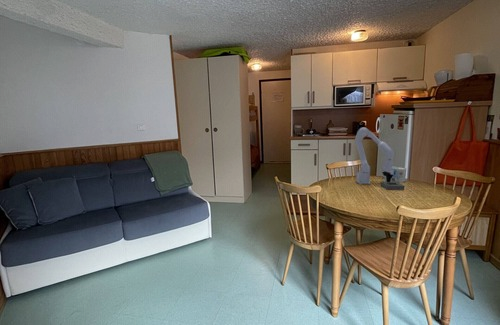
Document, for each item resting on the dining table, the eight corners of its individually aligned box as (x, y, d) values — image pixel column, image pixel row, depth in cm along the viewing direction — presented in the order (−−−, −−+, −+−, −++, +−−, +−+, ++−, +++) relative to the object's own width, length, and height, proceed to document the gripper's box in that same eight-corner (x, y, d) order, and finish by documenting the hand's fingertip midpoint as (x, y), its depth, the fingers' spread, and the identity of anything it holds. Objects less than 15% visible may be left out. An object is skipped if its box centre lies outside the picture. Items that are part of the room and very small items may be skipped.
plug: (382, 184, 210) (383, 176, 209) (380, 183, 214) (381, 175, 213) (391, 184, 210) (391, 176, 209) (389, 183, 214) (389, 175, 212)
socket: (387, 189, 196) (387, 185, 196) (380, 185, 207) (381, 182, 206) (404, 189, 195) (404, 185, 195) (397, 185, 206) (397, 181, 206)
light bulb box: (388, 180, 223) (389, 167, 221) (391, 178, 227) (392, 166, 225) (402, 182, 215) (403, 169, 213) (405, 181, 219) (406, 168, 217)
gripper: (398, 166, 202) (396, 183, 204) (389, 162, 216) (388, 179, 218) (388, 166, 202) (387, 183, 205) (380, 162, 217) (379, 179, 219)
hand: (387, 181), depth 212 cm, fingers closed on plug, 3 cm apart
